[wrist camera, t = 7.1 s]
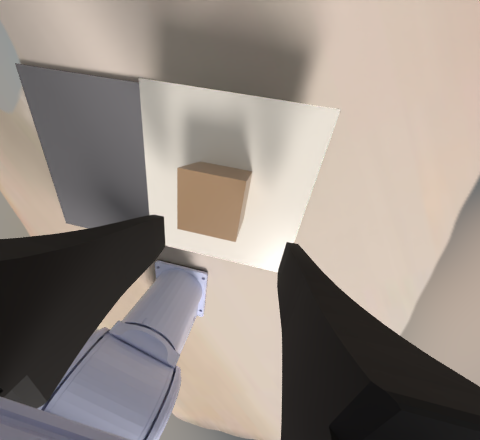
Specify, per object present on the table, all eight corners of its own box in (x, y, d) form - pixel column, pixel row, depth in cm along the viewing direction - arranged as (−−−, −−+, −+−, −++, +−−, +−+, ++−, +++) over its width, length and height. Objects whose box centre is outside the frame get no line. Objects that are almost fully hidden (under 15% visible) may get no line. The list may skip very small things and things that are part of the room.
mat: (165, 244, 24) (163, 246, 24) (69, 221, 25) (66, 223, 25) (159, 87, 16) (156, 85, 16) (21, 65, 17) (15, 63, 17)
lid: (282, 267, 17) (285, 306, 13) (156, 238, 18) (124, 265, 14) (336, 111, 11) (371, 94, 7) (146, 81, 12) (87, 52, 8)
